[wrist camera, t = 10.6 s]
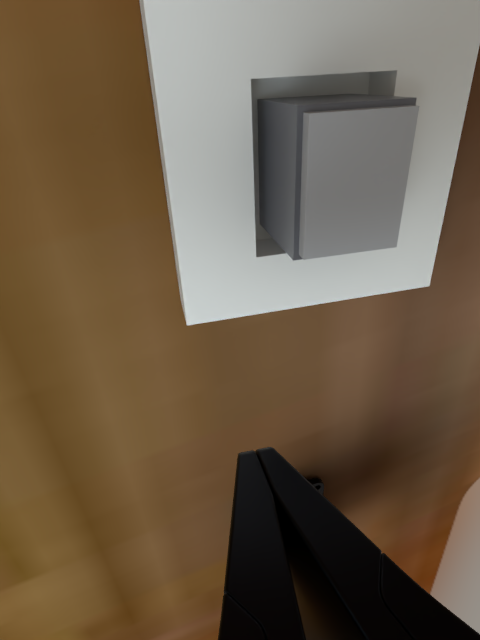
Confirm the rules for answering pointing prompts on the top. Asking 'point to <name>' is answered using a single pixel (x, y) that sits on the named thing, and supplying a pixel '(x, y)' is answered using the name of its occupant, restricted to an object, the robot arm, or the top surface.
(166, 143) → the socket plate
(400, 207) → the plug
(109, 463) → the top surface
